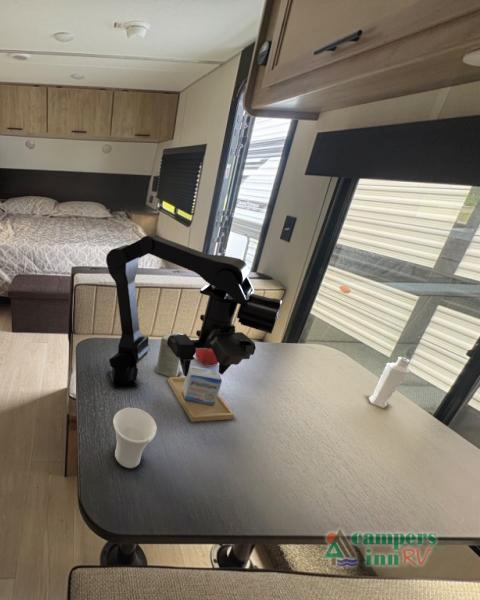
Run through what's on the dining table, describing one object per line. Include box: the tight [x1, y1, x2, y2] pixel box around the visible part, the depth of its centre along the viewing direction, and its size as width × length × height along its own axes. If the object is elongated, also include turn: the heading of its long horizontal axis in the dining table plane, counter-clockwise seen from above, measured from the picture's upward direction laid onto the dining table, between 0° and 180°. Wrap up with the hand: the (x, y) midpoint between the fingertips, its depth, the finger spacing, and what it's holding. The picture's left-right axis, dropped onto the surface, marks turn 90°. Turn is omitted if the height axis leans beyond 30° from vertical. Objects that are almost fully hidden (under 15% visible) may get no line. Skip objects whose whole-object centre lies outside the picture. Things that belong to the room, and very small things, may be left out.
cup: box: [112, 407, 158, 469], centre depth 63 cm, size 9×9×10 cm
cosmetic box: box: [155, 332, 181, 378], centre depth 91 cm, size 6×4×12 cm
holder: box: [167, 376, 235, 423], centre depth 83 cm, size 11×15×2 cm
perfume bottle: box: [368, 356, 412, 409], centre depth 82 cm, size 5×4×15 cm
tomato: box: [195, 349, 219, 367], centre depth 97 cm, size 8×8×8 cm
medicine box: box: [183, 365, 223, 405], centre depth 81 cm, size 8×4×9 cm, turn 79°
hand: (202, 374), depth 72 cm, fingers open, 9 cm apart
